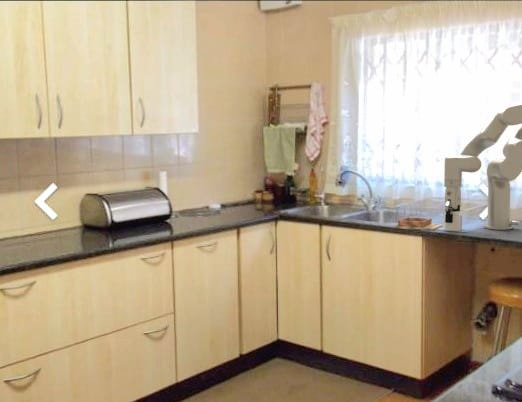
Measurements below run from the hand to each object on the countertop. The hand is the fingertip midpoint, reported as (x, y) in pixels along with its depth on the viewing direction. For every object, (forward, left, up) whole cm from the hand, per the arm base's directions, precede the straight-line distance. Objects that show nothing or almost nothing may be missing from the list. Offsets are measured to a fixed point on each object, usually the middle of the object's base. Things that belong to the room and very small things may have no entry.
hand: (452, 221), depth 295 cm
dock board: (+16, 0, -4) cm, 16 cm away
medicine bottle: (0, 0, -4) cm, 4 cm away
